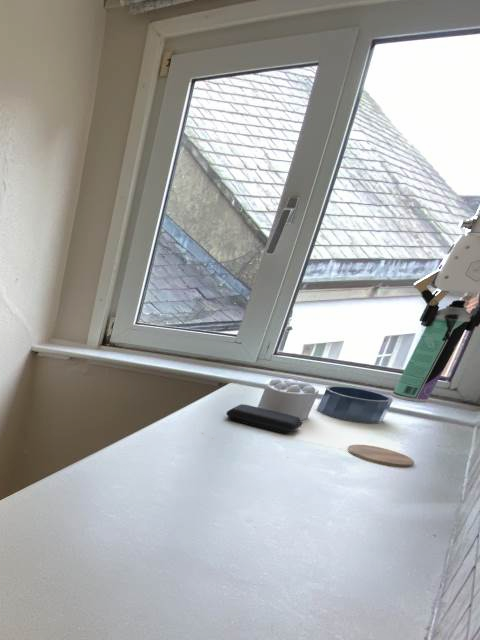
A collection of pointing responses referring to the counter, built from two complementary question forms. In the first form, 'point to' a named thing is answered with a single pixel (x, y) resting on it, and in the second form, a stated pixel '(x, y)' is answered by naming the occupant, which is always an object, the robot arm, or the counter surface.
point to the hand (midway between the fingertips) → (446, 326)
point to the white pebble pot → (289, 397)
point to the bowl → (354, 404)
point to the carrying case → (264, 418)
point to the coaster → (381, 455)
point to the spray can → (432, 353)
